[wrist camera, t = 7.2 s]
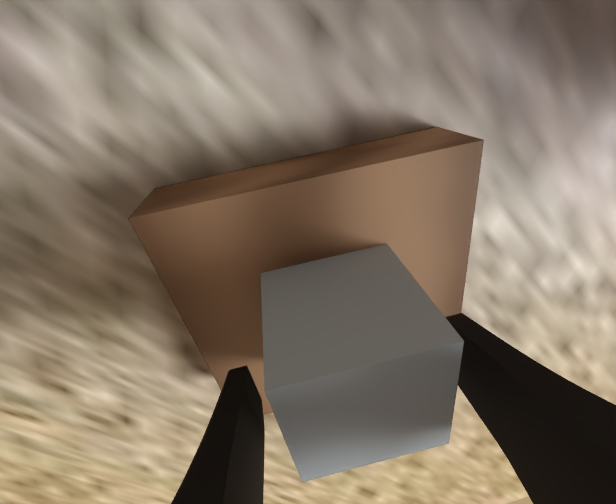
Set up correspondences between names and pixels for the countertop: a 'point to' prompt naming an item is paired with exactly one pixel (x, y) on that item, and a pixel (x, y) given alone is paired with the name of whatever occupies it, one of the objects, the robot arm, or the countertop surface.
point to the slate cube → (356, 361)
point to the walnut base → (309, 231)
